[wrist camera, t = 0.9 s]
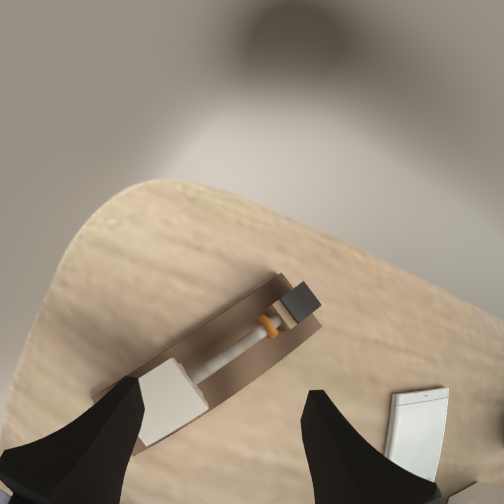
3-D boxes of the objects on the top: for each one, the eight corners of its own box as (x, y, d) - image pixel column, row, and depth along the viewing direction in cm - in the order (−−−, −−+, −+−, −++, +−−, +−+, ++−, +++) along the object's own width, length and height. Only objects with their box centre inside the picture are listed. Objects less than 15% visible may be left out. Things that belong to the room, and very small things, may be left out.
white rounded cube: (157, 429, 19) (146, 446, 14) (127, 389, 20) (109, 396, 15) (207, 398, 21) (208, 409, 16) (177, 358, 21) (171, 357, 17)
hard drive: (434, 483, 19) (451, 386, 24) (379, 502, 18) (398, 394, 23) (426, 480, 21) (441, 386, 26) (371, 497, 20) (389, 393, 25)
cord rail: (135, 453, 19) (125, 466, 15) (94, 396, 20) (78, 401, 16) (318, 327, 25) (335, 322, 22) (279, 275, 26) (290, 262, 23)
